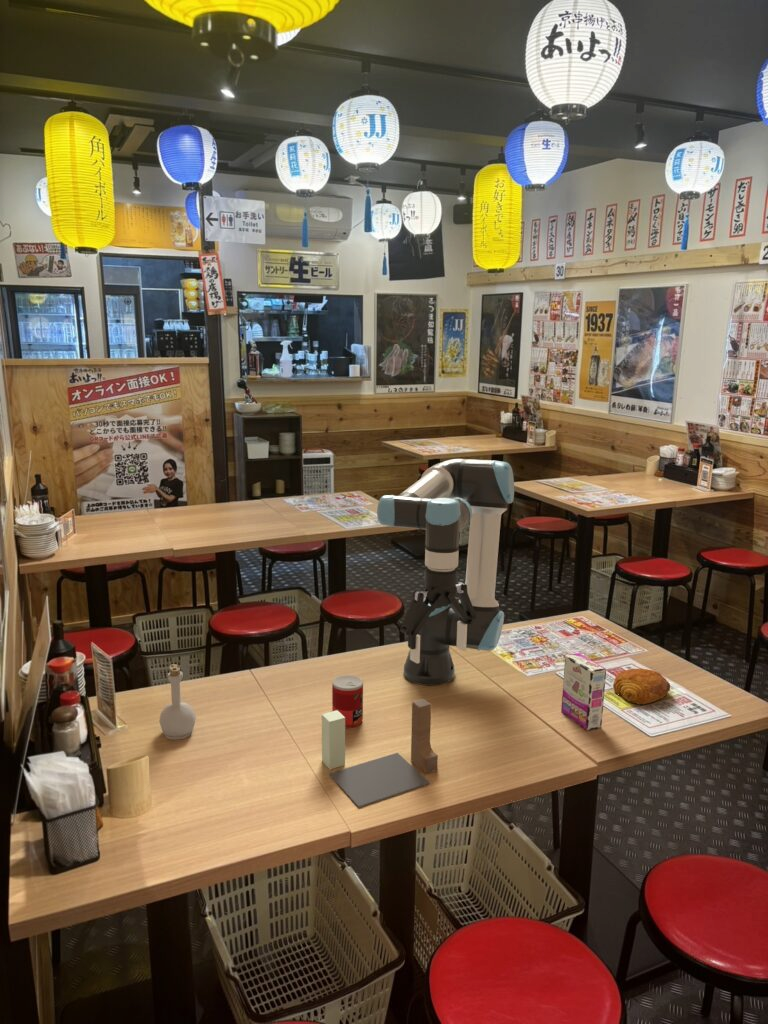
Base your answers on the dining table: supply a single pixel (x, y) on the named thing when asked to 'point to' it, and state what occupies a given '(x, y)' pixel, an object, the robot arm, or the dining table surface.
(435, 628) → the robot arm
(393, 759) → the mat
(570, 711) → the candy bar box
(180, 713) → the potion bottle
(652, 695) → the croissant
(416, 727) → the wooden block
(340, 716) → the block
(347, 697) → the canned food
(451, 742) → the dining table surface
